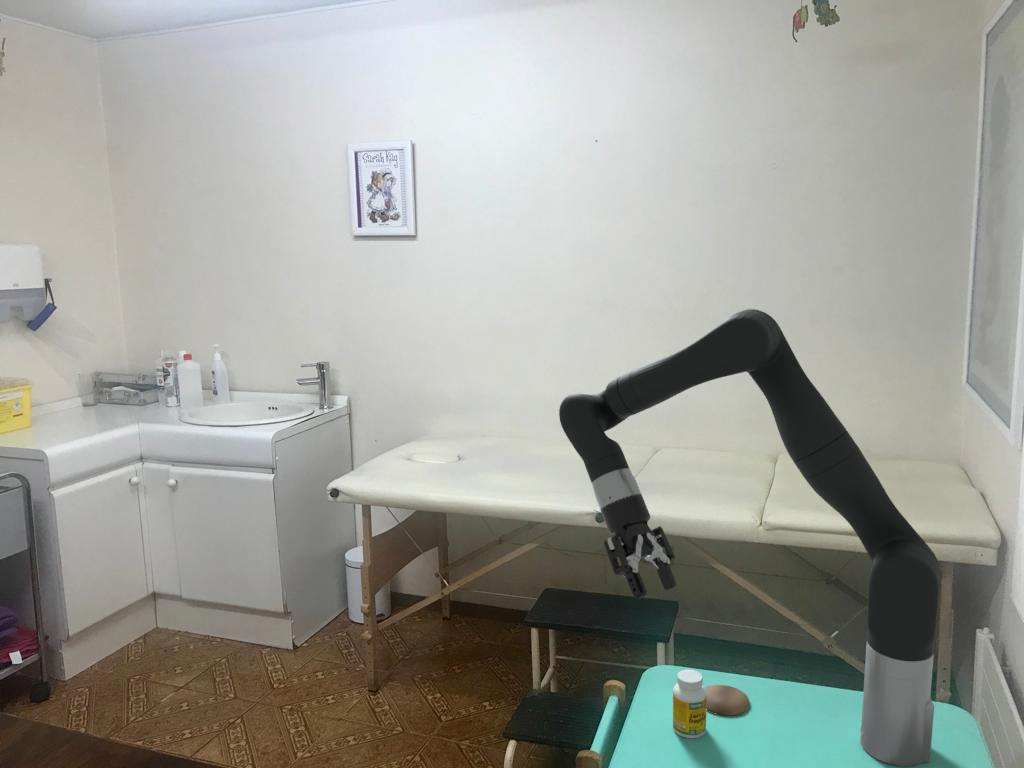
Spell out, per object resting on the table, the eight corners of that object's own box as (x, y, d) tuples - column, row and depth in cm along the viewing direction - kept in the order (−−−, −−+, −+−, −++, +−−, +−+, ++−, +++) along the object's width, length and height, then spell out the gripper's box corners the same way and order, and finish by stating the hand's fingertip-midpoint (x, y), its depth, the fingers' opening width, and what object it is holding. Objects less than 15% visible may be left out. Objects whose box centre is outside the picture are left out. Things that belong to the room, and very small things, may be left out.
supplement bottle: (688, 716, 136) (690, 663, 134) (713, 731, 132) (714, 677, 130) (665, 727, 133) (666, 673, 131) (689, 743, 129) (690, 688, 127)
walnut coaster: (746, 690, 143) (746, 686, 143) (751, 718, 135) (751, 714, 135) (697, 686, 145) (697, 682, 145) (699, 713, 137) (699, 710, 137)
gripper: (610, 495, 131) (649, 593, 126) (660, 488, 141) (697, 578, 136) (578, 512, 136) (614, 607, 130) (628, 504, 146) (663, 592, 141)
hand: (656, 592), depth 133 cm, fingers open, 8 cm apart
